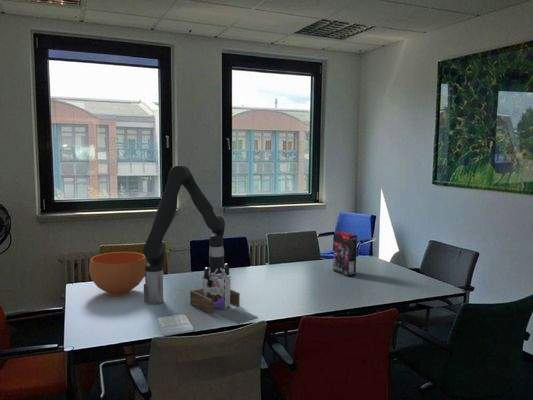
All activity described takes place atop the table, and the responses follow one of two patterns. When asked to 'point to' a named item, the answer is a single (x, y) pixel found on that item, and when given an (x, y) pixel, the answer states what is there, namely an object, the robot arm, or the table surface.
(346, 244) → the graphics card box
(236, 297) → the walnut u-shaped frame
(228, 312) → the slate mat
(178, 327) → the calculator
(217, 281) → the candy box
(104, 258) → the bowl
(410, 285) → the table surface
